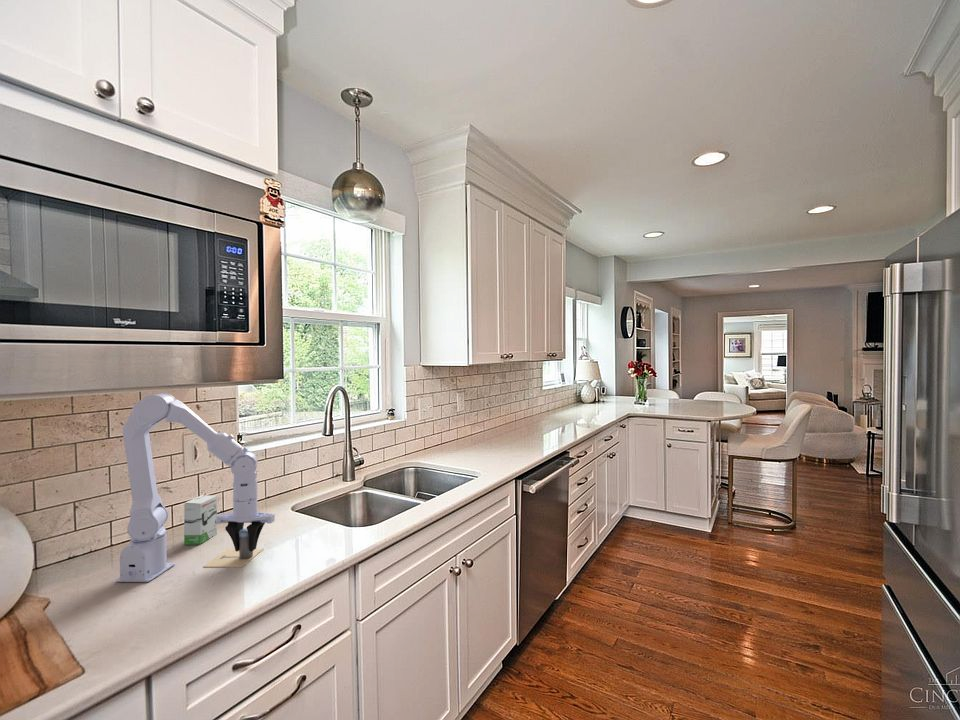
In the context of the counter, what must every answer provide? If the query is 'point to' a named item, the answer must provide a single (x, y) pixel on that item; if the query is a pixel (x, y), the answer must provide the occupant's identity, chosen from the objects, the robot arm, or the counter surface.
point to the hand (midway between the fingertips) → (245, 549)
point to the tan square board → (230, 559)
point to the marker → (244, 545)
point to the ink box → (200, 519)
